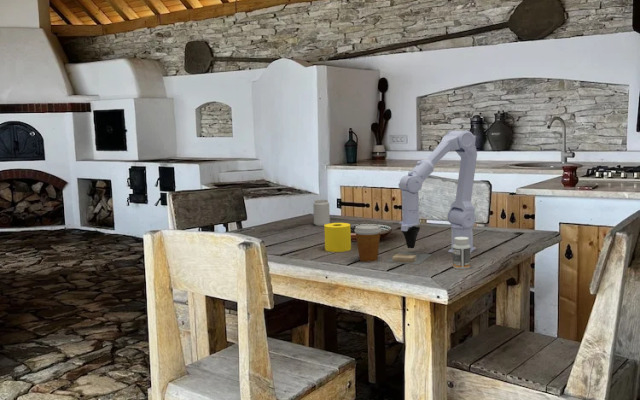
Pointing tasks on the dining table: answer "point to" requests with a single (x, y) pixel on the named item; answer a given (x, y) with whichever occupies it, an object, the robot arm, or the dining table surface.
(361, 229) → the disposable coffee cup
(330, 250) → the yellow toilet paper roll
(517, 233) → the dining table surface
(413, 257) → the wooden block
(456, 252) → the pill bottle
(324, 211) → the can
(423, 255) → the mat
